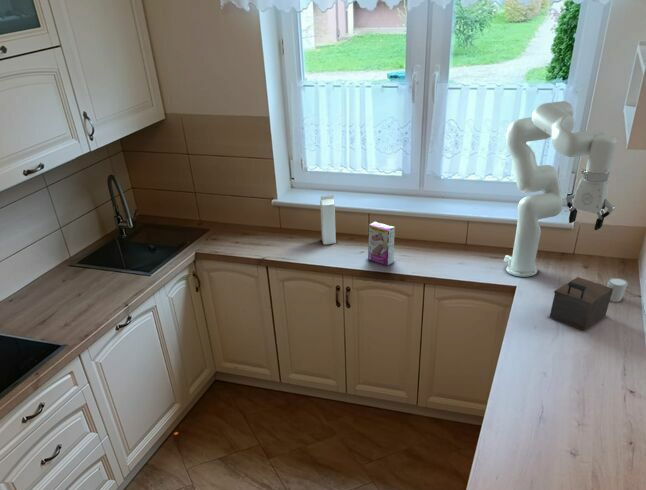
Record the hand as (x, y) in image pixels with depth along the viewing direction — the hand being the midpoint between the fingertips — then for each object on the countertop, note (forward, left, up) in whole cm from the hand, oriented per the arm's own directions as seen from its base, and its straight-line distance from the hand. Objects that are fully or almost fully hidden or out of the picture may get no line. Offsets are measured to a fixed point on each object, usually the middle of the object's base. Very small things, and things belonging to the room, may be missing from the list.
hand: (584, 225), depth 210 cm
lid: (+9, -8, -20) cm, 23 cm away
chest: (+9, -7, -30) cm, 32 cm away
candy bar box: (-78, -22, -30) cm, 87 cm away
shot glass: (+11, +15, -30) cm, 36 cm away
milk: (-112, -23, -30) cm, 118 cm away
